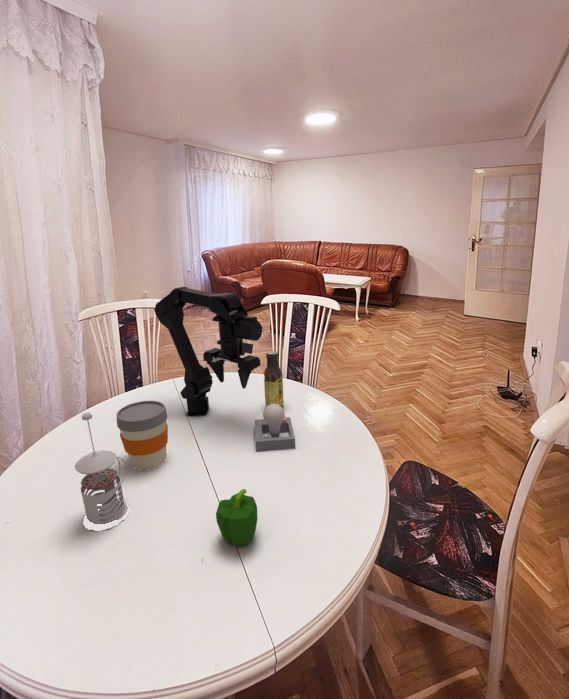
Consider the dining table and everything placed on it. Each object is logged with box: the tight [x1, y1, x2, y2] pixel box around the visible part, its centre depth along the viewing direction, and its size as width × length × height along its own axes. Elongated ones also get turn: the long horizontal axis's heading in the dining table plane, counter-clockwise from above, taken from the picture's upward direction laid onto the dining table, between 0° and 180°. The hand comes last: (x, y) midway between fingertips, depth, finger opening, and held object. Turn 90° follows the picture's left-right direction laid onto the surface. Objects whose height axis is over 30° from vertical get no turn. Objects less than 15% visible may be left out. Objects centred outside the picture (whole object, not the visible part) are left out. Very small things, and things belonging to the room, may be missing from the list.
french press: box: [74, 411, 128, 524], centre depth 85 cm, size 10×12×25 cm
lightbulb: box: [262, 404, 286, 438], centre depth 115 cm, size 6×6×11 cm
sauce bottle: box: [263, 350, 284, 409], centre depth 134 cm, size 7×6×20 cm
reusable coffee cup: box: [116, 400, 169, 471], centre depth 106 cm, size 13×13×15 cm
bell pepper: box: [215, 488, 258, 548], centre depth 79 cm, size 8×8×10 cm
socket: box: [254, 415, 296, 452], centre depth 117 cm, size 11×13×4 cm
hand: (233, 385), depth 123 cm, fingers open, 9 cm apart
